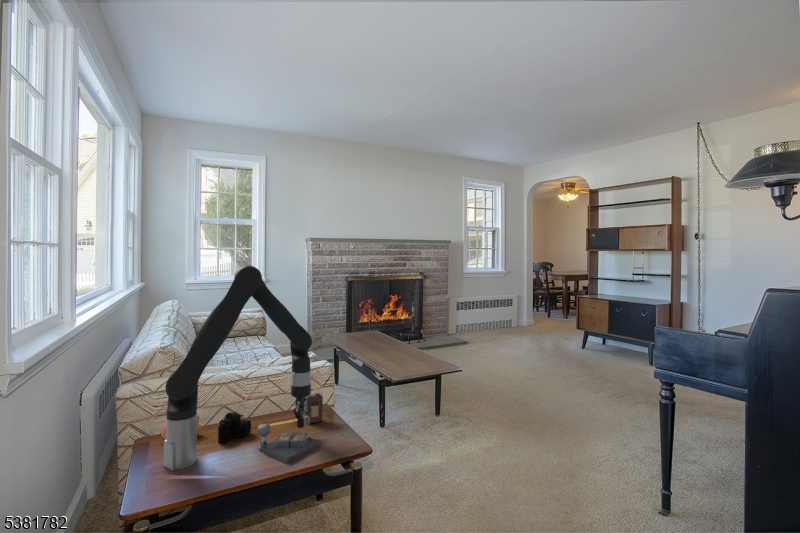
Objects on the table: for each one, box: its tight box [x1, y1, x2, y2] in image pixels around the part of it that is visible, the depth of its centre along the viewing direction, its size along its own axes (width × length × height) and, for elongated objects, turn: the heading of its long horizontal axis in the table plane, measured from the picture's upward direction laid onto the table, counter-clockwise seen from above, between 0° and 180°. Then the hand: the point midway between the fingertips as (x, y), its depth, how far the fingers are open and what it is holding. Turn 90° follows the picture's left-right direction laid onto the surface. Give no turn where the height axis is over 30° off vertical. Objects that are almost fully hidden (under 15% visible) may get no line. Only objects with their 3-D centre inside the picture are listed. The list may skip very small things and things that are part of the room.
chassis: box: [259, 431, 322, 464], centre depth 150 cm, size 16×15×4 cm
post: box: [257, 434, 268, 450], centre depth 151 cm, size 4×4×5 cm
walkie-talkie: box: [305, 392, 324, 424], centre depth 173 cm, size 9×4×20 cm, turn 113°
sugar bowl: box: [160, 414, 202, 440], centre depth 160 cm, size 12×14×10 cm
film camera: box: [217, 411, 252, 445], centre depth 160 cm, size 15×10×9 cm, turn 178°
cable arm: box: [257, 415, 311, 436], centre depth 155 cm, size 20×4×3 cm, turn 121°
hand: (300, 427), depth 155 cm, fingers closed
